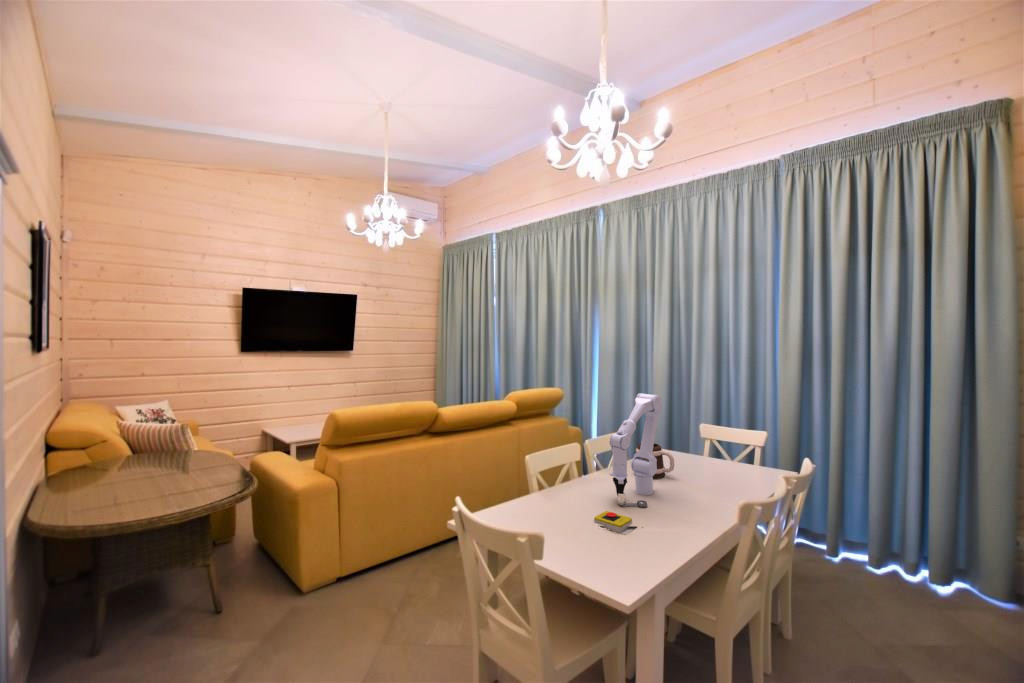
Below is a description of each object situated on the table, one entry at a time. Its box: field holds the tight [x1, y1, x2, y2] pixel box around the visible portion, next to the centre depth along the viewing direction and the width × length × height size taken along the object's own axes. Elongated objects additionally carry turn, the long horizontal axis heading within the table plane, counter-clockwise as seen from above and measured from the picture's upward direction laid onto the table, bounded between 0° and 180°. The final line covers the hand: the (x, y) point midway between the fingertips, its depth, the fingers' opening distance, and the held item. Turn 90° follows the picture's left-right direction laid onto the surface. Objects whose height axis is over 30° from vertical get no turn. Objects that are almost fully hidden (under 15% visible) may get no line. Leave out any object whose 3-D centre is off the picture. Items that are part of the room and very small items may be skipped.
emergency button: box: [593, 510, 638, 536], centre depth 171 cm, size 9×4×15 cm
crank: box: [617, 492, 648, 509], centre depth 186 cm, size 12×4×5 cm, turn 85°
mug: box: [635, 442, 676, 480], centre depth 229 cm, size 20×15×15 cm
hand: (619, 495), depth 192 cm, fingers closed
